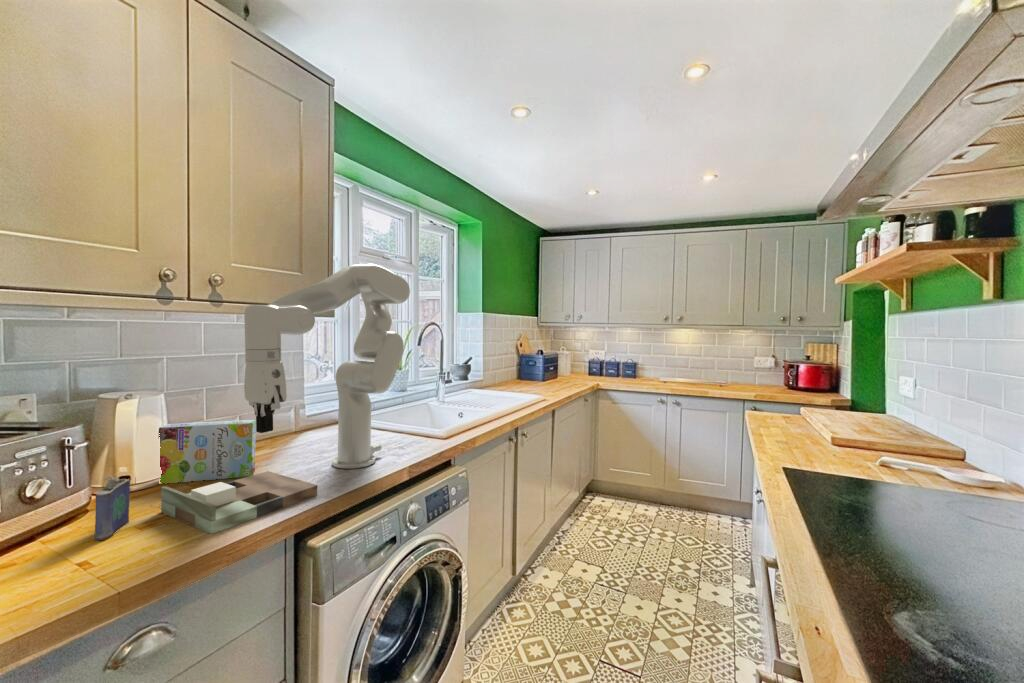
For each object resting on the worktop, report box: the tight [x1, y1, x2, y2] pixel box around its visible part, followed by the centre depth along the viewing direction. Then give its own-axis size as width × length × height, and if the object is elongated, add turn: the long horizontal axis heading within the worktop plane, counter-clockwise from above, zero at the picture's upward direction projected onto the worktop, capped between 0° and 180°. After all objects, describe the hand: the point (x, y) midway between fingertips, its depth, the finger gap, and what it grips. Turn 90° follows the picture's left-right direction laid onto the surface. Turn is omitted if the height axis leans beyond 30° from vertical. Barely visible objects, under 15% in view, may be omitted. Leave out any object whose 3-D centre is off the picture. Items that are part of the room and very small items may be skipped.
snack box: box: [158, 419, 257, 485], centre depth 116 cm, size 21×6×15 cm, turn 111°
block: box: [190, 481, 236, 506], centre depth 94 cm, size 6×6×3 cm
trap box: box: [160, 470, 318, 535], centre depth 99 cm, size 24×20×6 cm
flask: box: [94, 476, 131, 542], centre depth 85 cm, size 9×3×11 cm, turn 20°
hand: (264, 431), depth 103 cm, fingers closed
